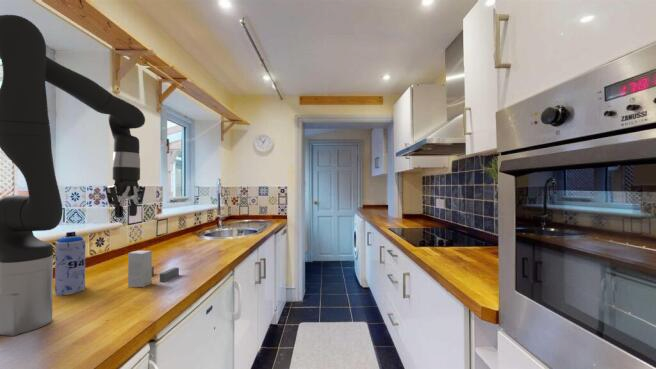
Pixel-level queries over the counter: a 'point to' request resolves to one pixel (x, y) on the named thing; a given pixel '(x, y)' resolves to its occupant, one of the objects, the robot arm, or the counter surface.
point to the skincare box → (139, 268)
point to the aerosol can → (69, 264)
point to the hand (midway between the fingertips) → (126, 216)
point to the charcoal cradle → (167, 274)
